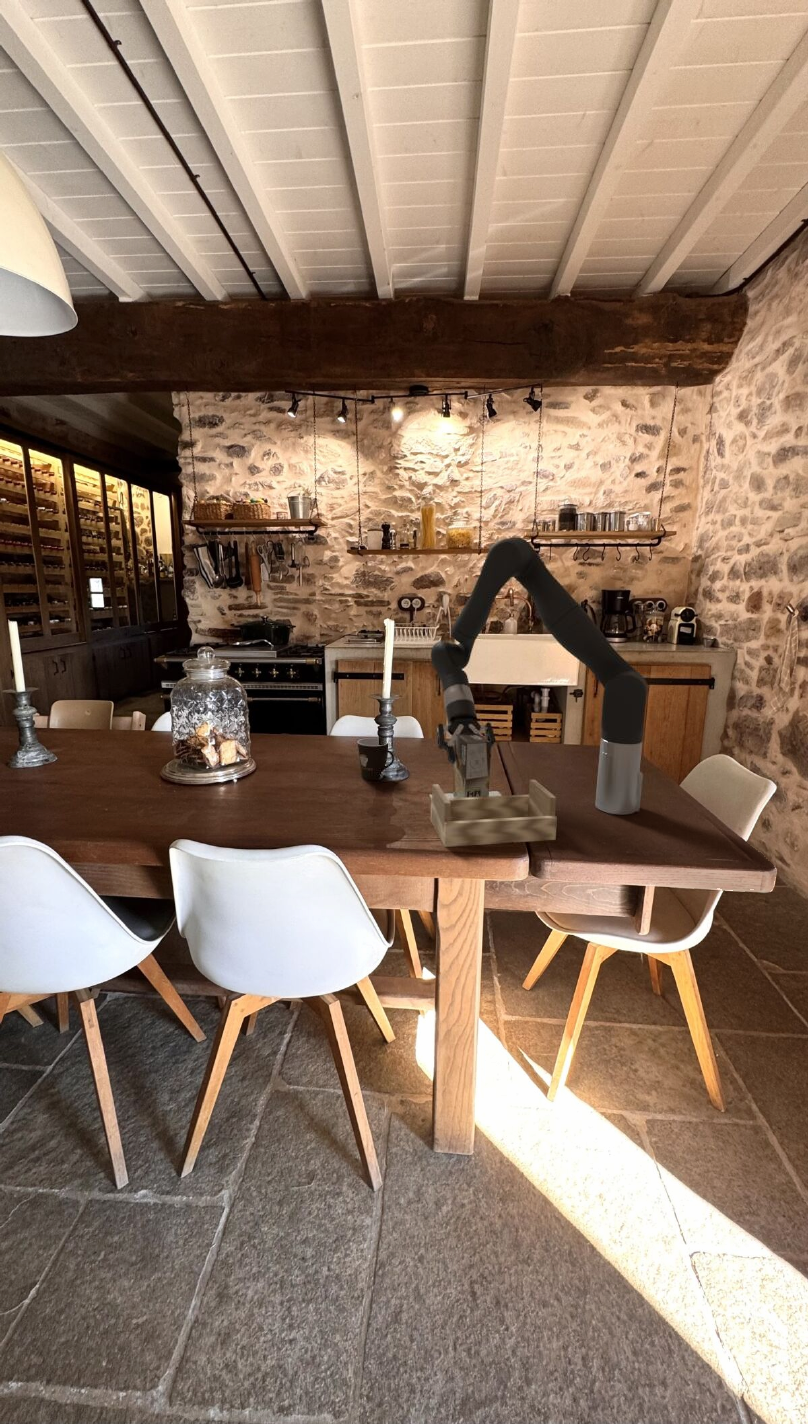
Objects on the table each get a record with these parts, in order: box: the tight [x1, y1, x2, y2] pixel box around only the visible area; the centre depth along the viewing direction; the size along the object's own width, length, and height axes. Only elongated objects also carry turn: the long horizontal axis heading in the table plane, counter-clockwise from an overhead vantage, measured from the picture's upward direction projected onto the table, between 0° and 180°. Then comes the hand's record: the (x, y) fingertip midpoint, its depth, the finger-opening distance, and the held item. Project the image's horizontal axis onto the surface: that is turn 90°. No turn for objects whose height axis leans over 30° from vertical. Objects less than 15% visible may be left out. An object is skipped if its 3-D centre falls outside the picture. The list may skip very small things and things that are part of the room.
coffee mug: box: [357, 737, 395, 781], centre depth 160 cm, size 12×9×10 cm
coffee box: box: [452, 733, 492, 798], centre depth 142 cm, size 9×6×16 cm
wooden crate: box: [430, 779, 558, 848], centre depth 127 cm, size 24×14×9 cm, turn 100°
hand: (470, 761), depth 143 cm, fingers open, 8 cm apart
